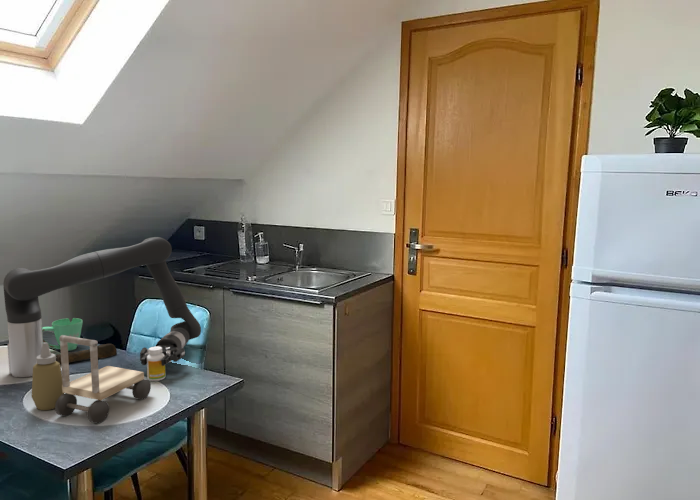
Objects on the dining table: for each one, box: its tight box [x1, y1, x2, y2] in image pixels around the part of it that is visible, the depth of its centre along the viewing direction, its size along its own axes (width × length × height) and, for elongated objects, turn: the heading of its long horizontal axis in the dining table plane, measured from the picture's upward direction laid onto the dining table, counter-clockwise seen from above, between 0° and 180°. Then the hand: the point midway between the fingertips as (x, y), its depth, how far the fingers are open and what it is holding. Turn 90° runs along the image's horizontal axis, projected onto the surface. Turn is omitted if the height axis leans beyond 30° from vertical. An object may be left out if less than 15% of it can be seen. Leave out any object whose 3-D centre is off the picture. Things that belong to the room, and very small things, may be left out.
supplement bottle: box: [146, 345, 167, 382], centre depth 175 cm, size 5×5×10 cm
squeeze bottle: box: [31, 341, 65, 411], centre depth 152 cm, size 8×8×18 cm
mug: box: [42, 317, 84, 352], centre depth 199 cm, size 15×10×10 cm
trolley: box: [54, 335, 152, 424], centre depth 153 cm, size 13×22×22 cm, turn 159°
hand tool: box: [55, 343, 118, 366], centre depth 190 cm, size 19×4×5 cm, turn 124°
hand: (153, 362), depth 172 cm, fingers closed on supplement bottle, 5 cm apart
